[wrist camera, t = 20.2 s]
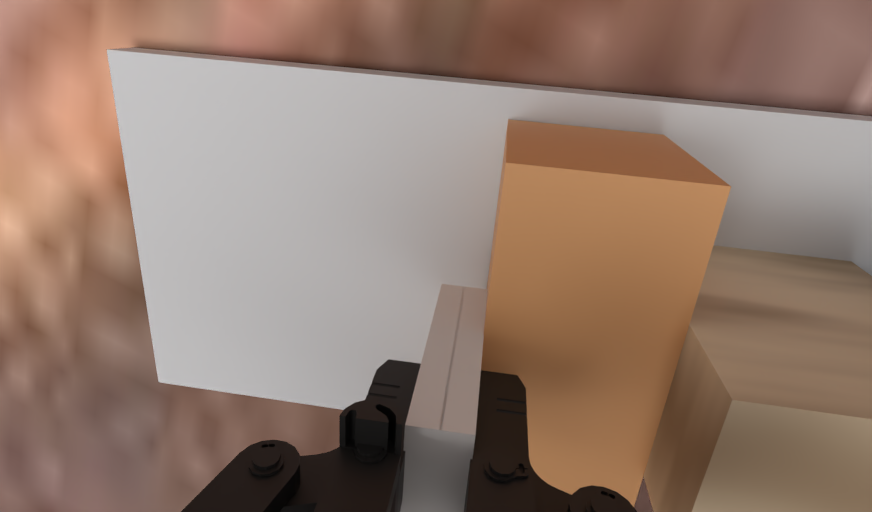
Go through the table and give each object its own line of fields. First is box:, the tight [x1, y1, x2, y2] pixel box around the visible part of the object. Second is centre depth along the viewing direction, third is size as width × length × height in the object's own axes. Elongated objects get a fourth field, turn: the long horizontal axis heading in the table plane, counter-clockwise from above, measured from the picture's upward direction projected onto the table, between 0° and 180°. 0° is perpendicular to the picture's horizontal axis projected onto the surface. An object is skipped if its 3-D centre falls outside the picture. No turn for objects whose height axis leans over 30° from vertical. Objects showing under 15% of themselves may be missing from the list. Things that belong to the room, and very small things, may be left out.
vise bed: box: [107, 48, 872, 410], centre depth 18 cm, size 14×30×8 cm, turn 86°
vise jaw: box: [481, 119, 731, 507], centre depth 18 cm, size 12×5×6 cm, turn 176°
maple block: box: [643, 245, 872, 512], centre depth 16 cm, size 5×7×9 cm
